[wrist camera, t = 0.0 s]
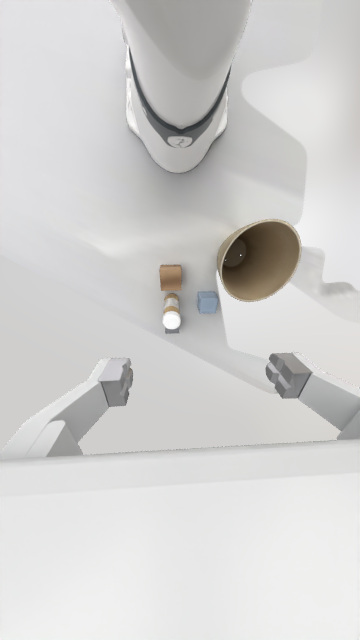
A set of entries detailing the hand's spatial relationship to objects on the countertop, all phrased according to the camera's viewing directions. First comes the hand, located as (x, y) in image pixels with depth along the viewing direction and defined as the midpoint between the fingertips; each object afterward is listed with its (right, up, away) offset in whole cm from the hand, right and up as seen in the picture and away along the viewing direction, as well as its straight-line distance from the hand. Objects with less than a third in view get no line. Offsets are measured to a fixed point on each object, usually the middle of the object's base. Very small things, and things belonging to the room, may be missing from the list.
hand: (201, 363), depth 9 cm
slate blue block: (+7, +9, +41) cm, 42 cm away
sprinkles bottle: (-4, +9, +40) cm, 41 cm away
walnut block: (-4, +16, +36) cm, 39 cm away
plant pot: (+13, +21, +33) cm, 42 cm away
